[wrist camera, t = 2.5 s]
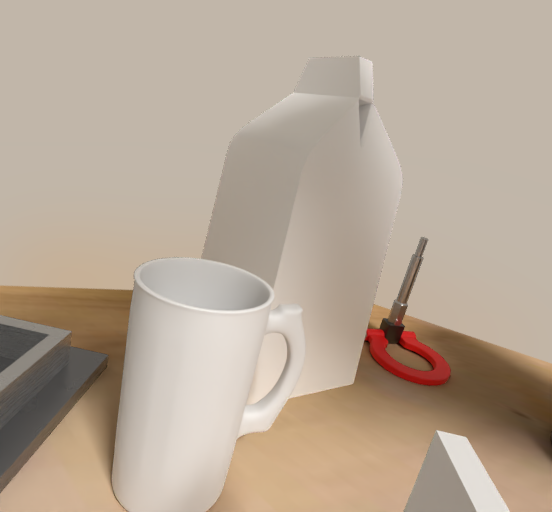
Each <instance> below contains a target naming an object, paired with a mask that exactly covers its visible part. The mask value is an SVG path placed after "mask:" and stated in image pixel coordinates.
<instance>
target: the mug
mask: <svg viewBox="0 0 552 512" xmlns="http://www.w3.org/2000/svg"><path fill="white" fill-rule="evenodd" d="M134 279H135V281H134V289H133V295H132V301H131V307H130V315H129V324H128V333H127V342H126V350H125V359H124V368H123V377H122V386H121V395H120V403H119V412H118V420H117V428H116V438H115V450H114V460H113V469H112V487H113V491H114V494H115V496H116V498H117V500H118V501H119V503H120V504H121V505H122V506H123V507H124V508H125V509H126V510H127V511H128V512H206V511H207V510H208V509H210V508H211V507H212V506H213V505H214V503H215V502H216V501H217V499H218V498H219V496H220V494H221V492H222V490H223V487H224V483H225V480H226V476H227V473H228V469H229V466H230V462H231V459H232V455H233V452H234V448H235V444H236V440H237V439H238V438H239V437H241V436H243V435H245V434H249V433H254V432H265V431H267V430H268V429H269V428H270V427H271V425H272V424H273V422H274V421H275V419H276V417H277V416H278V414H279V413H280V411H281V410H282V408H283V406H284V405H285V403H286V402H287V400H288V399H289V397H290V395H291V394H292V392H293V390H294V388H295V386H296V384H297V382H298V380H299V377H300V375H301V372H302V369H303V365H304V361H305V355H306V342H305V334H304V329H303V324H302V312H303V310H302V308H301V306H300V305H298V304H280V305H279V306H278V307H277V308H275V309H273V310H270V309H271V305H272V302H273V300H274V291H273V289H272V288H271V286H270V285H269V284H268V283H267V282H265V281H264V280H263V279H261V278H260V277H258V276H256V275H254V274H252V273H250V272H248V271H246V270H243V269H241V268H238V267H235V266H232V265H228V264H225V263H221V262H216V261H211V260H205V259H197V258H183V257H172V258H161V259H155V260H151V261H148V262H146V263H143V264H142V265H140V266H139V267H138V268H137V269H136V270H135V272H134ZM269 333H280V334H282V335H283V336H284V338H285V341H286V345H287V359H286V363H285V366H284V369H283V371H282V373H281V375H280V377H279V379H278V381H277V383H276V384H275V386H274V387H273V388H272V390H271V391H270V392H269V393H268V394H267V395H266V396H265V397H264V398H262V399H261V400H260V401H258V402H257V403H254V404H251V405H246V402H247V398H248V395H249V391H250V387H251V383H252V380H253V376H254V372H255V369H256V365H257V361H258V357H259V354H260V350H261V346H262V342H263V339H264V335H266V334H269Z"/></svg>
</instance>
